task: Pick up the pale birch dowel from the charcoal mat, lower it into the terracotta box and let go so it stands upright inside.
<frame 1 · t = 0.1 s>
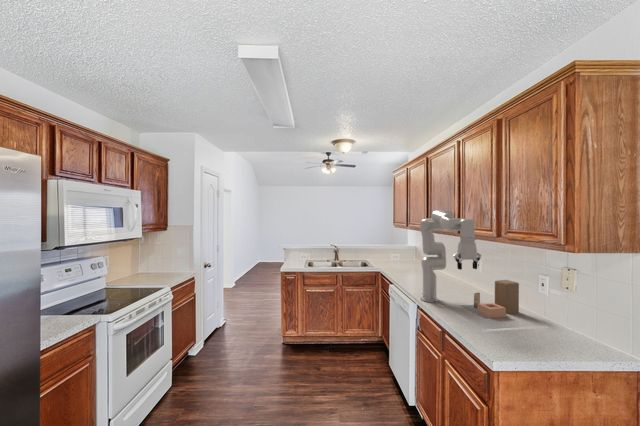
hand: (467, 269, 180), 31 cm above the countertop, tool pointing down, fingers open, 9 cm apart
terracotta box: (491, 314, 190), resting on charcoal mat
wooden block: (506, 312, 197), on the countertop
charcoal mat: (483, 312, 197), on the countertop
birch dowel: (476, 307, 204), point 1 cm above the countertop, touching charcoal mat
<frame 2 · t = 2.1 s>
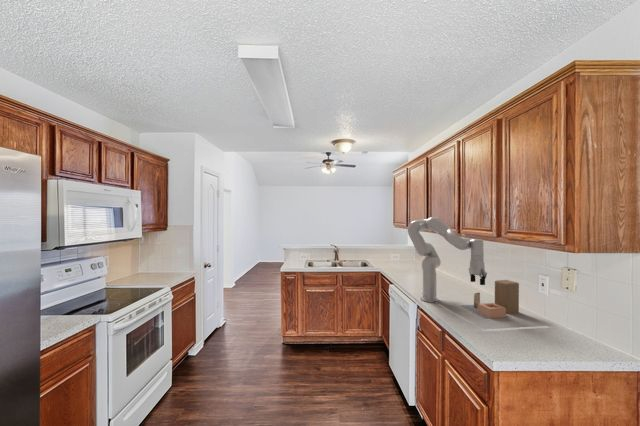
hand: (477, 283, 204), 17 cm above the countertop, tool pointing down, fingers open, 9 cm apart
nothing on the countertop moved.
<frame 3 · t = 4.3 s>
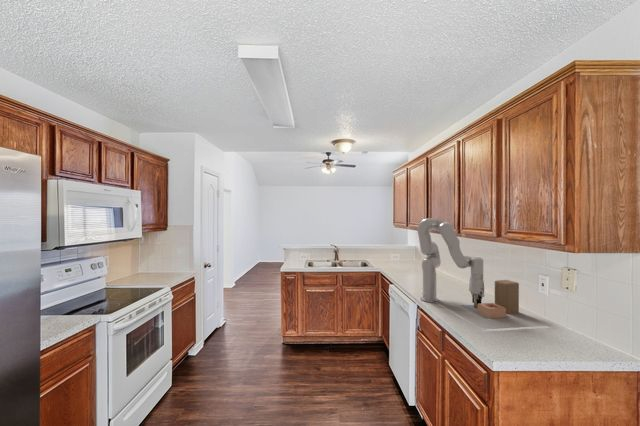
hand: (476, 303, 204), 4 cm above the countertop, tool pointing down, fingers closed on birch dowel, 3 cm apart
birch dowel: (476, 307, 204), point 1 cm above the countertop, touching charcoal mat, gripper
everything else where it was.
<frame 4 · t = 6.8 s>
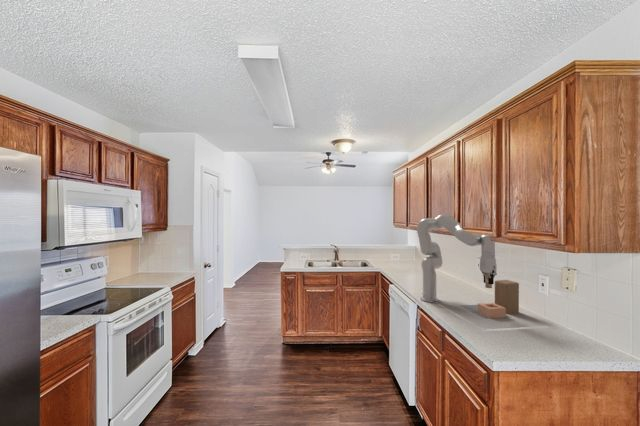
hand: (488, 283, 193), 20 cm above the countertop, tool pointing down, fingers closed on birch dowel, 3 cm apart
birch dowel: (488, 287, 193), point 17 cm above the countertop, touching gripper
everything else where it was.
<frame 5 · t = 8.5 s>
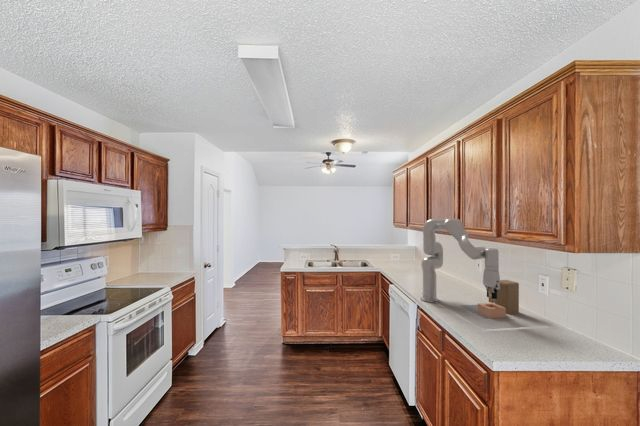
hand: (491, 297, 190), 12 cm above the countertop, tool pointing down, fingers closed on birch dowel, 3 cm apart
birch dowel: (491, 301, 190), point 9 cm above the countertop, touching gripper
everything else where it was.
when the fingers open (7 cm above the countertop, at t = 9.6 s): birch dowel drops 3 cm, resting on terracotta box.
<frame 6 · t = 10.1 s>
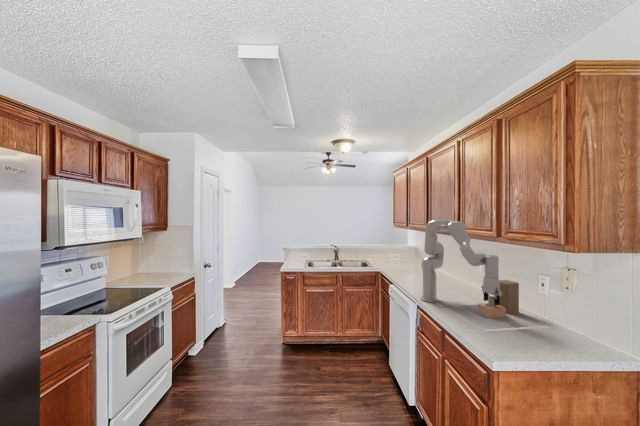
hand: (491, 302, 190), 8 cm above the countertop, tool pointing down, fingers open, 9 cm apart
birch dowel: (491, 312, 190), point 2 cm above the countertop, touching terracotta box
everything else where it was.
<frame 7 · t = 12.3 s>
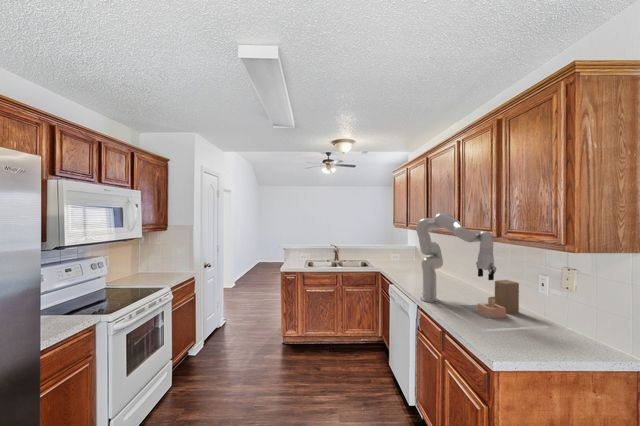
hand: (485, 278, 192), 23 cm above the countertop, tool pointing down, fingers open, 9 cm apart
nothing on the countertop moved.
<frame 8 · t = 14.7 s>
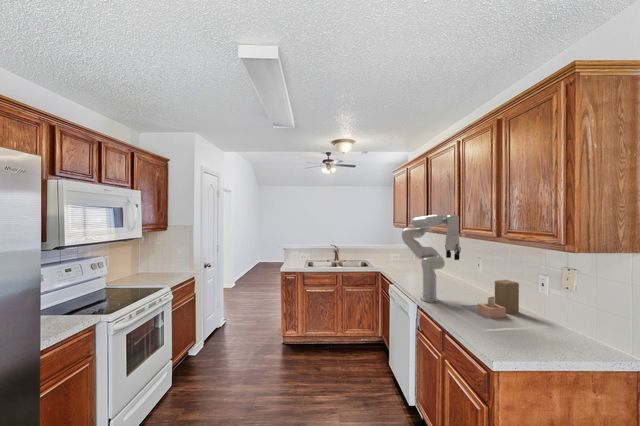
hand: (452, 258, 206), 33 cm above the countertop, tool pointing down, fingers open, 9 cm apart
nothing on the countertop moved.
at the end: birch dowel 0.2 cm off-centre on the terracotta box, point 1.0 cm above the terracotta box's base; birch dowel tilted 1°; the gripper is holding nothing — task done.
